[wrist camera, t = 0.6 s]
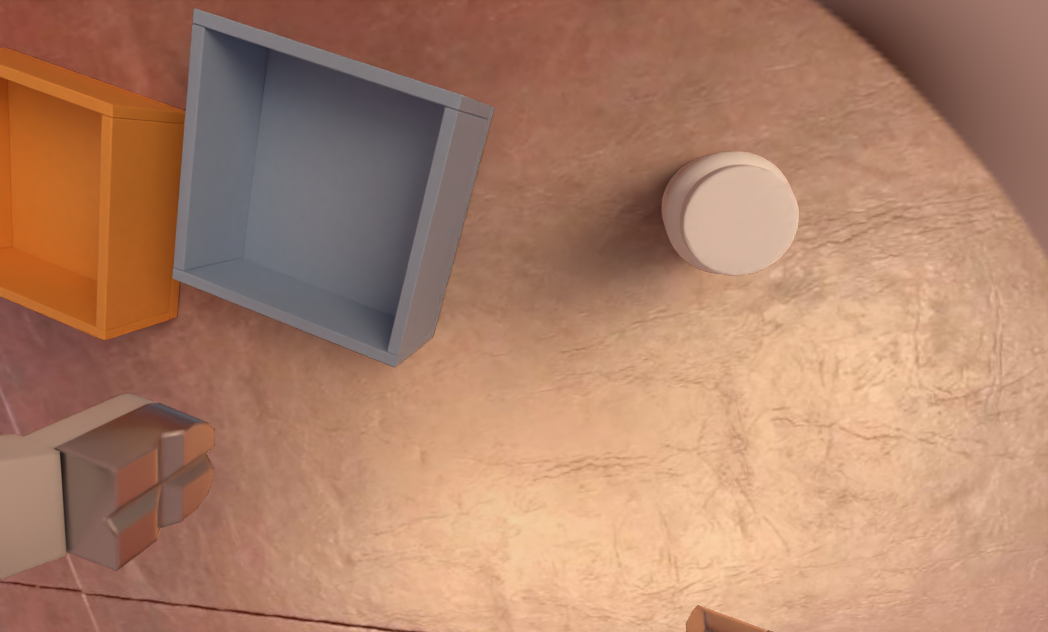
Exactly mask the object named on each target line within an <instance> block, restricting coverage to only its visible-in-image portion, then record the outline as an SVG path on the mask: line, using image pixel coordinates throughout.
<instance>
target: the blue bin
mask: <svg viewBox="0 0 1048 632" xmlns="http://www.w3.org/2000/svg"><path fill="white" fill-rule="evenodd" d="M193 23H194V24H193V25H192V36H191V48H190V61H189V74H188V87H187V99H186V112H185V125H184V138H183V151H182V163H181V176H180V189H179V202H178V214H177V227H176V240H175V253H174V268H173V276H172V278H173V279H175V280H177V281H180V282H182V283H185V284H187V285H190V286H192V287H195V288H197V289H200V290H202V291H205V292H207V293H210V294H212V295H215V296H217V297H220V298H222V299H225V300H227V301H230V302H232V303H235V304H237V305H240V306H242V307H245V308H247V309H250V310H252V311H255V312H257V313H260V314H262V315H265V316H267V317H270V318H272V319H275V320H277V321H280V322H282V323H285V324H287V325H290V326H292V327H295V328H297V329H300V330H302V331H305V332H307V333H310V334H312V335H315V336H317V337H320V338H322V339H325V340H327V341H330V342H332V343H335V344H337V345H340V346H342V347H345V348H347V349H350V350H352V351H355V352H357V353H360V354H362V355H365V356H367V357H370V358H372V359H375V360H377V361H380V362H382V363H385V364H387V365H390V366H392V367H397V366H398V365H399V364H400V363H402V362H403V361H404V360H405V359H407V358H408V357H409V356H410V355H412V354H413V353H414V352H415V351H417V350H418V349H419V348H420V347H422V346H423V345H424V344H425V343H427V342H428V341H429V340H430V339H431V338H433V336H434V332H435V328H436V325H437V321H438V317H439V314H440V310H441V306H442V302H443V299H444V295H445V291H446V287H447V284H448V280H449V276H450V272H451V269H452V265H453V261H454V257H455V254H456V250H457V246H458V242H459V239H460V235H461V231H462V227H463V224H464V220H465V216H466V212H467V209H468V205H469V201H470V198H471V194H472V190H473V186H474V183H475V179H476V175H477V171H478V168H479V164H480V160H481V156H482V153H483V149H484V145H485V141H486V138H487V134H488V130H489V126H490V123H491V119H492V115H493V111H494V107H492V106H490V105H487V104H484V103H482V102H479V101H477V100H474V99H471V98H469V97H466V96H464V95H461V94H458V93H455V92H452V91H449V90H446V89H443V88H439V87H436V86H433V85H430V84H427V83H424V82H421V81H418V80H415V79H412V78H409V77H406V76H402V75H399V74H396V73H393V72H390V71H387V70H384V69H381V68H378V67H375V66H372V65H369V64H365V63H362V62H359V61H356V60H353V59H350V58H347V57H344V56H341V55H338V54H335V53H332V52H328V51H325V50H322V49H319V48H316V47H313V46H310V45H307V44H304V43H301V42H298V41H295V40H291V39H288V38H285V37H282V36H279V35H276V34H273V33H270V32H267V31H264V30H261V29H258V28H254V27H251V26H248V25H245V24H242V23H239V22H236V21H233V20H230V19H227V18H224V17H221V16H217V15H214V14H211V13H208V12H205V11H202V10H199V9H194V11H193Z"/></svg>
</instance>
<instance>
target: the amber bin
mask: <svg viewBox="0 0 1048 632" xmlns="http://www.w3.org/2000/svg"><path fill="white" fill-rule="evenodd" d="M185 112H186V111H184V110H181V109H178V108H176V107H173V106H170V105H167V104H164V103H161V102H159V101H156V100H153V99H150V98H147V97H144V96H142V95H139V94H136V93H133V92H130V91H127V90H125V89H122V88H119V87H116V86H113V85H110V84H108V83H105V82H102V81H99V80H96V79H93V78H91V77H88V76H85V75H82V74H79V73H77V72H74V71H71V70H68V69H65V68H62V67H60V66H57V65H54V64H51V63H48V62H45V61H43V60H40V59H37V58H34V57H31V56H28V55H26V54H23V53H20V52H17V51H14V50H11V49H7V48H1V47H0V296H1V297H3V298H5V299H8V300H10V301H13V302H15V303H17V304H20V305H22V306H24V307H27V308H29V309H31V310H34V311H36V312H38V313H41V314H43V315H45V316H48V317H50V318H53V319H55V320H57V321H60V322H62V323H64V324H67V325H69V326H71V327H74V328H76V329H78V330H81V331H83V332H85V333H88V334H90V335H93V336H95V337H97V338H100V339H102V340H108V339H111V338H114V337H117V336H120V335H123V334H127V333H130V332H133V331H136V330H139V329H142V328H145V327H148V326H152V325H155V324H158V323H161V322H164V321H167V320H170V319H173V318H176V317H177V312H178V300H179V288H180V281H177V280H175V279H173V278H172V276H173V268H174V253H175V240H176V227H177V214H178V202H179V189H180V176H181V163H182V151H183V138H184V125H185Z"/></svg>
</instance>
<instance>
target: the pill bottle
mask: <svg viewBox="0 0 1048 632" xmlns="http://www.w3.org/2000/svg"><path fill="white" fill-rule="evenodd" d="M661 212H662V219H663V223H664V226H665V229H666V232H667V235H668V238H669V240H670V242H671V244H672V246H673V248H674V249H675V250H676V252H677V253H678V254H679V255H680V256H681V257H682V258H683V259H684V260H685V261H686V262H687V263H689V264H690V265H692V266H694V267H696V268H698V269H700V270H703V271H706V272H710V273H715V274H724V275H730V276H741V275H749V274H753V273H756V272H758V271H761V270H763V269H765V268H767V267H769V266H771V265H772V264H773V263H775V262H776V261H777V260H778V259H779V258H780V257H781V256H783V254H784V253H785V252H786V251H787V250H788V248H789V247H790V245H791V243H792V241H793V239H794V237H795V235H796V232H797V227H798V220H799V210H798V205H797V201H796V198H795V196H794V194H793V192H792V190H791V187H790V185H789V183H788V181H787V179H786V178H785V176H784V175H783V173H782V172H781V171H780V170H779V169H778V168H777V167H776V166H775V165H774V164H773V163H771V162H770V161H768V160H767V159H765V158H763V157H761V156H758V155H755V154H752V153H748V152H741V151H728V152H721V153H716V154H711V155H706V156H702V157H700V158H697V159H695V160H692V161H691V162H689V163H687V164H686V165H684V166H683V167H682V168H680V169H679V170H678V171H677V172H676V173H675V174H674V176H673V177H672V178H671V180H670V181H669V183H668V184H667V186H666V189H665V191H664V194H663V198H662V206H661Z"/></svg>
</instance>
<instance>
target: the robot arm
mask: <svg viewBox="0 0 1048 632" xmlns="http://www.w3.org/2000/svg"><path fill="white" fill-rule="evenodd" d="M214 446H215V428H214V427H212V426H211V425H210V424H209V423H208V422H205V421H203V420H200V419H198V418H195V417H193V416H190V415H188V414H186V413H183V412H181V411H178V410H176V409H173V408H171V407H168V406H166V405H163V404H161V403H156V402H154V401H152V400H149V399H147V398H144V397H142V396H139V395H137V394H121V395H119V396H116V397H114V398H112V399H109V400H107V401H105V402H102V403H100V404H98V405H95V406H93V407H91V408H88V409H86V410H84V411H81V412H79V413H77V414H74V415H72V416H70V417H67V418H65V419H63V420H60V421H58V422H56V423H54V424H51V425H49V426H47V427H44V428H42V429H40V430H37V431H35V432H33V433H30V434H28V435H26V436H20V435H17V434H15V433H14V434H7V435H0V580H1V579H4V578H7V577H9V576H12V575H15V574H17V573H20V572H23V571H26V570H28V569H31V568H34V567H36V566H39V565H42V564H45V563H47V562H50V561H53V560H55V559H58V558H61V557H64V556H66V555H67V552H68V553H71V554H73V555H76V556H79V557H81V558H84V559H86V560H89V561H91V562H94V563H96V564H99V565H102V566H104V567H107V568H109V569H112V570H114V571H117V570H119V569H120V568H121V567H123V566H124V565H125V564H127V563H128V562H129V561H131V560H132V559H133V558H134V557H136V556H137V555H138V554H140V553H141V552H142V551H144V550H145V549H146V548H148V547H149V546H150V545H152V544H153V543H154V542H156V541H157V537H158V534H159V531H160V528H162V527H165V526H169V525H172V524H176V523H179V522H182V521H183V520H184V519H185V518H187V517H188V516H189V515H190V514H192V513H193V512H194V511H195V510H196V509H197V508H198V507H199V505H200V504H201V503H202V501H203V500H204V498H205V497H206V496H207V494H208V492H209V489H210V487H211V484H212V481H213V471H214V467H213V465H212V463H211V461H210V459H209V457H208V455H207V452H208V451H209V450H211V449H212V448H213V447H214ZM686 632H772V631H769V630H768V631H766V630H764V629H762V628H759V627H757V626H754V625H751V624H748V623H746V622H743V621H740V620H737V619H735V618H732V617H729V616H726V615H724V614H721V613H718V612H715V611H713V610H710V609H707V608H704V607H702V606H699V605H697V606H696V607H695V609H694V610H693V611H692V612H691V614H690V616H689V618H688V620H687V622H686Z"/></svg>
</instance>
